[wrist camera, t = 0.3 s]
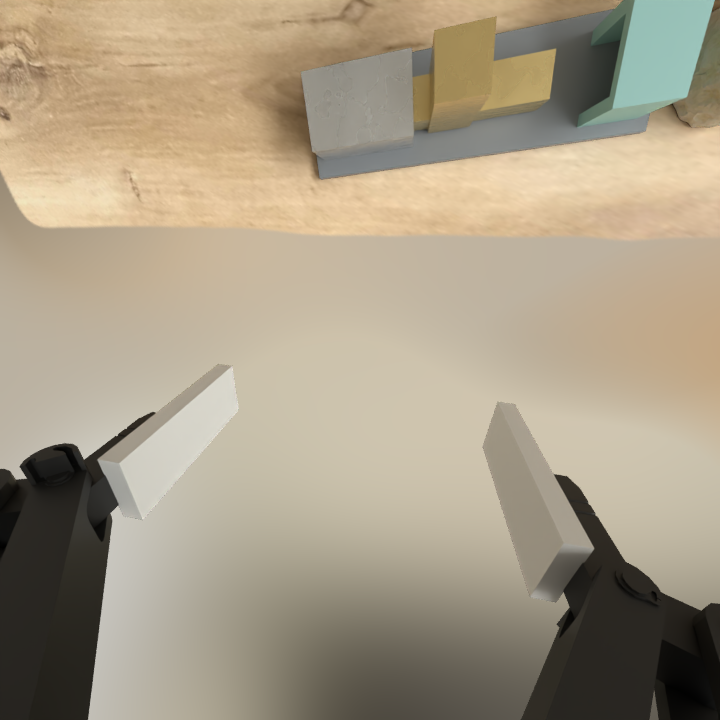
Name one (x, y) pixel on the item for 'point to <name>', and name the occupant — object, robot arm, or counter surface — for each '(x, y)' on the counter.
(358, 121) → the grey rectangular sleeve
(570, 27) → the slate board
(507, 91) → the gold stepped block
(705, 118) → the sponge
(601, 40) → the socket
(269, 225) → the counter surface
